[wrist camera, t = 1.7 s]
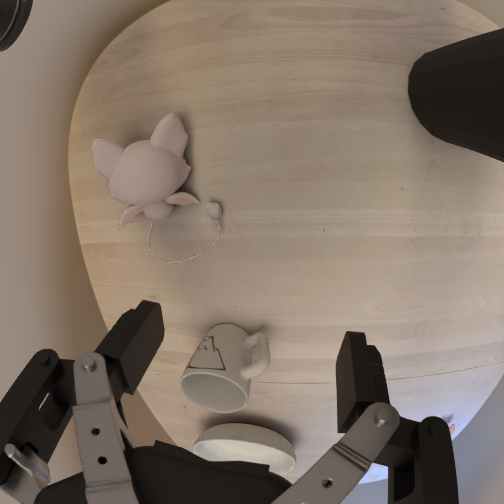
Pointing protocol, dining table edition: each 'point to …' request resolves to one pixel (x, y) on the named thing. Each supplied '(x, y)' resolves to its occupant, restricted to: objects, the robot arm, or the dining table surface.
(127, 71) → the dining table surface
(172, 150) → the toy
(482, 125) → the vase
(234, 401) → the mug
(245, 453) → the serving bowl
